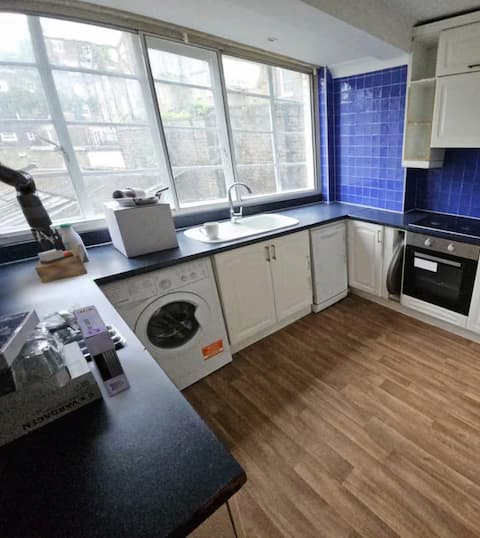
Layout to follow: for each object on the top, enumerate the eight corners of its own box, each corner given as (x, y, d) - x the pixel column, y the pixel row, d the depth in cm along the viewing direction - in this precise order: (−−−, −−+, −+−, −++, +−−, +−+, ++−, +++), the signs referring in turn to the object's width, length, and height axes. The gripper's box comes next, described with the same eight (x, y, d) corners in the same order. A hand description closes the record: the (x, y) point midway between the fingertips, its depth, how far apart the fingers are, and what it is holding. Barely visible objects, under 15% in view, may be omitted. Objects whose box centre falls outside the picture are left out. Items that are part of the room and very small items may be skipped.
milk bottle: (89, 255, 170) (75, 221, 162) (88, 258, 164) (74, 224, 156) (71, 258, 165) (55, 224, 157) (70, 262, 160) (54, 226, 152)
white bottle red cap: (47, 264, 137) (42, 254, 135) (40, 263, 138) (35, 254, 136) (73, 255, 147) (69, 247, 145) (67, 255, 148) (63, 246, 146)
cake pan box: (134, 388, 74) (108, 329, 67) (109, 400, 70) (79, 340, 63) (117, 355, 86) (93, 303, 79) (95, 365, 82) (68, 310, 75)
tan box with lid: (42, 283, 136) (32, 264, 132) (49, 268, 153) (40, 251, 149) (87, 273, 145) (79, 255, 141) (89, 260, 162) (82, 244, 158)
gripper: (16, 217, 133) (33, 251, 139) (37, 218, 129) (54, 253, 135) (36, 213, 139) (52, 246, 146) (57, 214, 135) (72, 247, 142)
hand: (53, 249), depth 140 cm, fingers open, 8 cm apart
